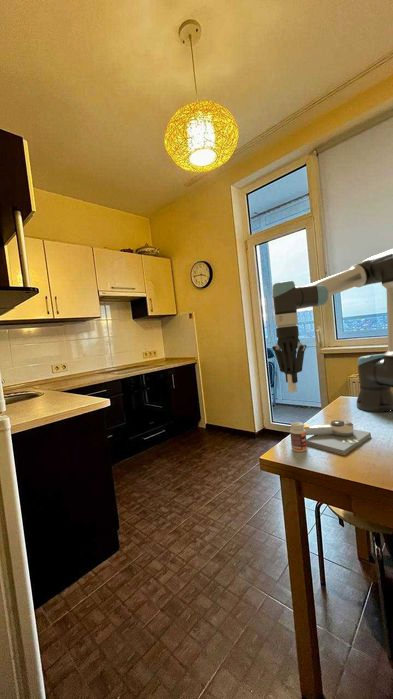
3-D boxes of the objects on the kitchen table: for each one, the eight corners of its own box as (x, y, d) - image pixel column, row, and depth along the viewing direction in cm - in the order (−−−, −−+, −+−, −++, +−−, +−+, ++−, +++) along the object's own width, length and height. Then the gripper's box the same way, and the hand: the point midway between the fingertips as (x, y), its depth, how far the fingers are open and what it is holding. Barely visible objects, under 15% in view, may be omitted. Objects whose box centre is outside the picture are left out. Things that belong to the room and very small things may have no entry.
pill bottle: (305, 453, 90) (303, 426, 90) (290, 451, 93) (287, 425, 92) (308, 447, 94) (306, 421, 94) (293, 445, 97) (291, 420, 96)
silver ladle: (349, 428, 101) (348, 418, 101) (357, 436, 94) (356, 424, 94) (300, 431, 103) (299, 421, 103) (305, 438, 97) (304, 427, 96)
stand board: (332, 429, 107) (332, 424, 107) (372, 437, 96) (372, 432, 96) (305, 444, 96) (304, 439, 96) (346, 455, 85) (345, 450, 85)
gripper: (265, 328, 105) (271, 392, 107) (296, 325, 95) (302, 396, 96) (278, 326, 110) (283, 387, 111) (309, 323, 99) (315, 391, 100)
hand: (292, 391), depth 103 cm, fingers closed
